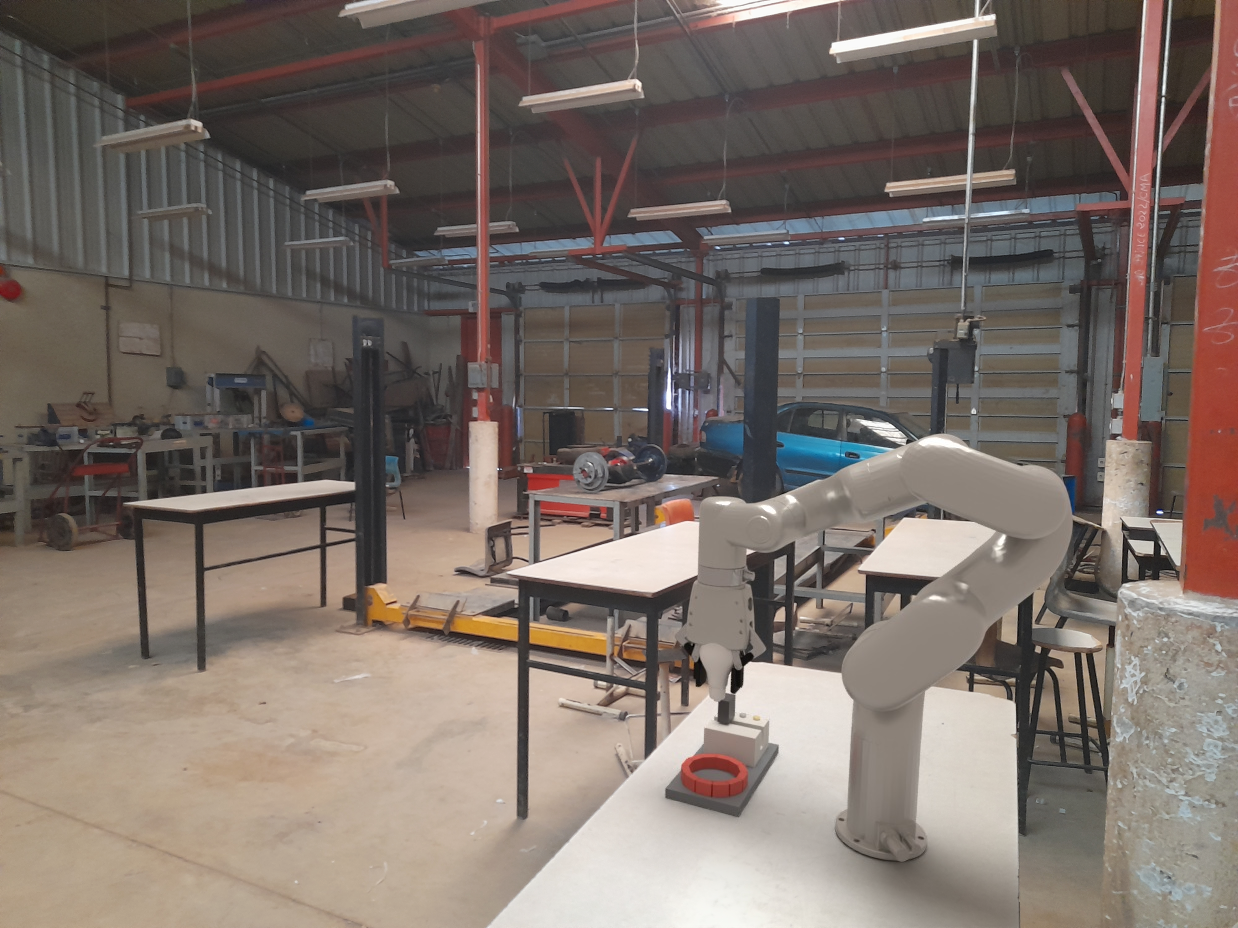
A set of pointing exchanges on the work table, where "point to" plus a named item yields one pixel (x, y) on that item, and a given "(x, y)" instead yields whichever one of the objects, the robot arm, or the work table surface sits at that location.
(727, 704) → the block
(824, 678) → the work table surface
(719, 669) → the lightbulb
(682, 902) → the work table surface
